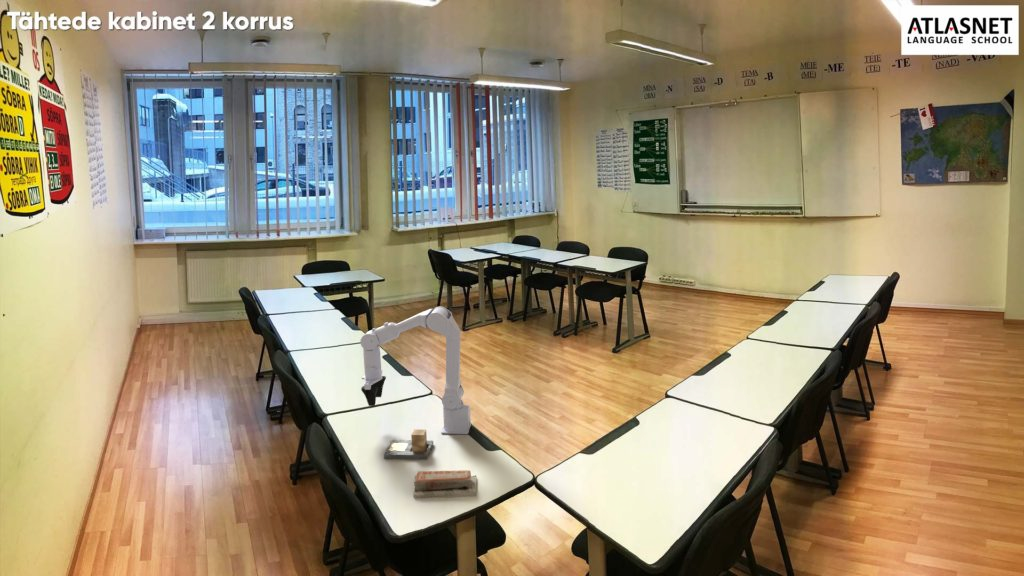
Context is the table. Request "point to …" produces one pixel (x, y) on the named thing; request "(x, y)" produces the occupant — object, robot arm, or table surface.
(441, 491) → the packaged product
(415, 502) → the table surface
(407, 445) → the plate
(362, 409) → the table surface
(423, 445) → the peg
